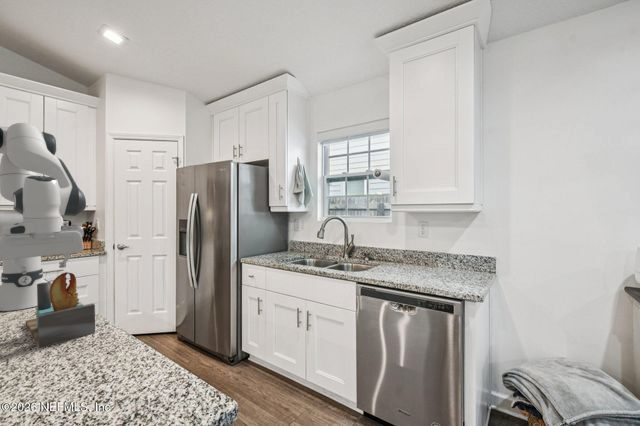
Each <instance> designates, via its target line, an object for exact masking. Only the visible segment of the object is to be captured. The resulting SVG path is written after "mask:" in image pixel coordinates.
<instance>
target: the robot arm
mask: <svg viewBox="0 0 640 426" xmlns="http://www.w3.org/2000/svg"><path fill="white" fill-rule="evenodd" d="M58 147H59V146H58V142H57V139H56V137H55V135H53V134H51V133H48V132H45V131H40V130H39V129H38V128H37V127H36V126H34V125H33V124H30V123H26V122H16V123H13V124H11V125H10V126H0V154H1V159H0V195H1V197H3V199H5V200H7V201H10V202H13V208H12V209H9V210H7V209H4V210H3V209H0V261H1V263H2V272H1V274H0V275H1V276H0V280H1V281H0V282H1V284H0V312H8V311H9V312H10V311H11V312H12V311H18V310H24V309H29V308H34V307H37V284H39V283H45V282H48V281H47V280H45V279H44V278H43V277H44V271H43V267H42V257H47V256H48V257H49V256H56V255H57V256H58V255H63V257H64V258H63V260H62V261H59V262H58V264H59V266H58V268H59V269H61V268H62V269H63V268H66V267H67V262H68V261H69V259H70V258H71V254H79V253H82V252H83V251H84V242H83V241H84V240H83V237H84V235H85V231H84V228H83V227H82V226H79V225H64V218H63V217H62V216H66V217H67V216H68V217H76V216H78V215H80V214H81V213H82V212H84V211H85V209H86V207H87V200H86V196H85V194H84V192H83V191H82V190H81V189H80V187H78V185H77V182H76V181H75V179H74V177H73V176H72V174H71V172H70V171H69V169H68V167H67V166H66V164H65V162H64V161H63V160H62V159H61V158H59V157H57V156H55V155H56V153H57V151H58ZM38 174H41V175H38ZM43 175H44V176H43Z"/></svg>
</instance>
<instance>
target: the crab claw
mask: <svg viewBox="0 0 640 426" xmlns="http://www.w3.org/2000/svg"><path fill="white" fill-rule="evenodd" d="M67 275H69V278H70V279H69V280H68V282H69V284H68V283H67ZM49 293H50V300H51V306H52V307H53V310H54V311H59V310H64V309H69V308H73V307H77V304H79V303H78V301H80V298H79V295H78V292H77V278H76V275H75V274H74V273H72V272H68V271H67V272H63V273H61V274H59V275H58V276H56V278H54V279H53V281H52V282H51V287H50V292H49Z"/></svg>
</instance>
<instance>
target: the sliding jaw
mask: <svg viewBox="0 0 640 426" xmlns="http://www.w3.org/2000/svg"><path fill="white" fill-rule="evenodd" d="M51 284H52V282H51V281H50V282H49V281H47V282H45V283H39V284H37V306H36V307H37V308H36V312H35V313H36V318H37V328H38V315H40V314H45V313H50V312H54V310H53V307H52V303H51V300H50V293H49V292H50V287H51ZM78 303H79V304H77V307H78V306H83V305H84V304H83V303H81V302H80V300H78ZM36 318H35V319H36Z"/></svg>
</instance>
